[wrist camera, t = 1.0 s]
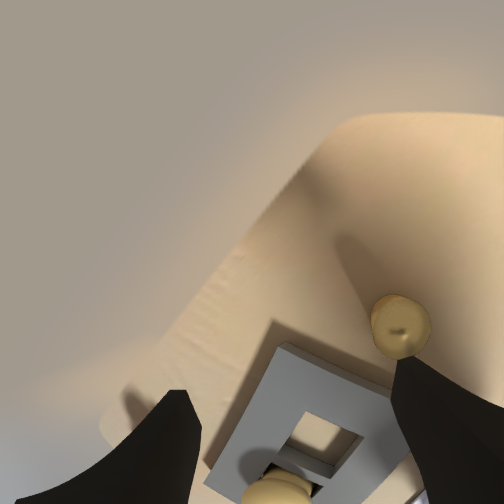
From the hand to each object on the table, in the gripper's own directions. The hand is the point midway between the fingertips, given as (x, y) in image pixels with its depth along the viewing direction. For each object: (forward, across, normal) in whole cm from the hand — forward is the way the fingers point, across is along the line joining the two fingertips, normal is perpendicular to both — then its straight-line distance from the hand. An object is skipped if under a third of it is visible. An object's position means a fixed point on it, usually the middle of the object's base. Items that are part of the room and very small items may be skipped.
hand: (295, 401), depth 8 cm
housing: (+7, -1, +15) cm, 16 cm away
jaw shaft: (+10, -8, +4) cm, 13 cm away
